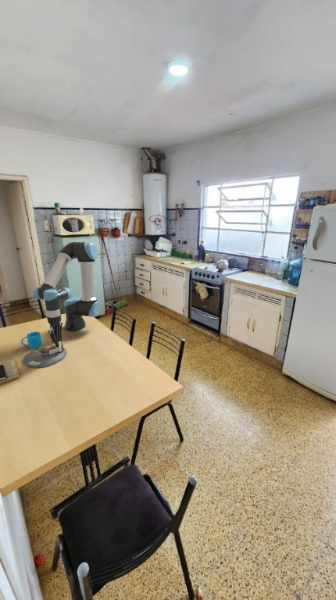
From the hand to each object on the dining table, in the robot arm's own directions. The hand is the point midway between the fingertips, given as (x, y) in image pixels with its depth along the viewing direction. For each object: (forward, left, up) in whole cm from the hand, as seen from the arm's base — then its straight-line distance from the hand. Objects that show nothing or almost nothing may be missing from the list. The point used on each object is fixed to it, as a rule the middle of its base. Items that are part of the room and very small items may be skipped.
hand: (59, 350), depth 156 cm
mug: (+8, -25, -3) cm, 26 cm away
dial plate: (+7, -5, -3) cm, 9 cm away
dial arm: (+7, -5, -1) cm, 8 cm away
